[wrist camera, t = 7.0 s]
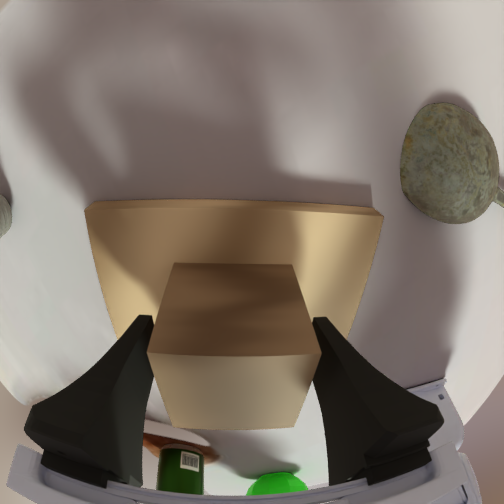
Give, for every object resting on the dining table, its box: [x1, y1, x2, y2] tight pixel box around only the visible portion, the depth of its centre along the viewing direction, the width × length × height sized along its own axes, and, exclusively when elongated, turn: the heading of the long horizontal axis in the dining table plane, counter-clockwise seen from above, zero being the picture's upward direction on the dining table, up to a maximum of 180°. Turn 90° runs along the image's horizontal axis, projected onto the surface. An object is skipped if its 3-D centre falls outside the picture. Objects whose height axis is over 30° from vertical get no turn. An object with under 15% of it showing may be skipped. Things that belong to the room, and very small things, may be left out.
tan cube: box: [147, 262, 322, 430], centre depth 12 cm, size 6×6×6 cm
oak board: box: [84, 199, 384, 340], centre depth 15 cm, size 14×10×1 cm
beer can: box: [156, 444, 204, 495], centre depth 21 cm, size 5×5×12 cm
